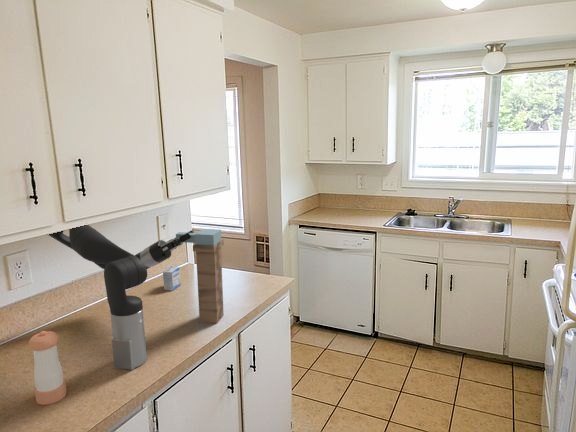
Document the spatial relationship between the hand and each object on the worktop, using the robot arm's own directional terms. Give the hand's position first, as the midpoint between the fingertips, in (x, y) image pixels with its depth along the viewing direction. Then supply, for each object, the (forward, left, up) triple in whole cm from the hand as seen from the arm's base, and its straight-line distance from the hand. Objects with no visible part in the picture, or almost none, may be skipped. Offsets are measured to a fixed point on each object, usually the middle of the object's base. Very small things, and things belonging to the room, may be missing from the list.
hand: (191, 233), depth 156 cm
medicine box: (+27, +22, -33) cm, 48 cm away
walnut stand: (0, -7, -33) cm, 34 cm away
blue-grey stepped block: (0, -3, -3) cm, 4 cm away
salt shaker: (-53, +19, -33) cm, 66 cm away
